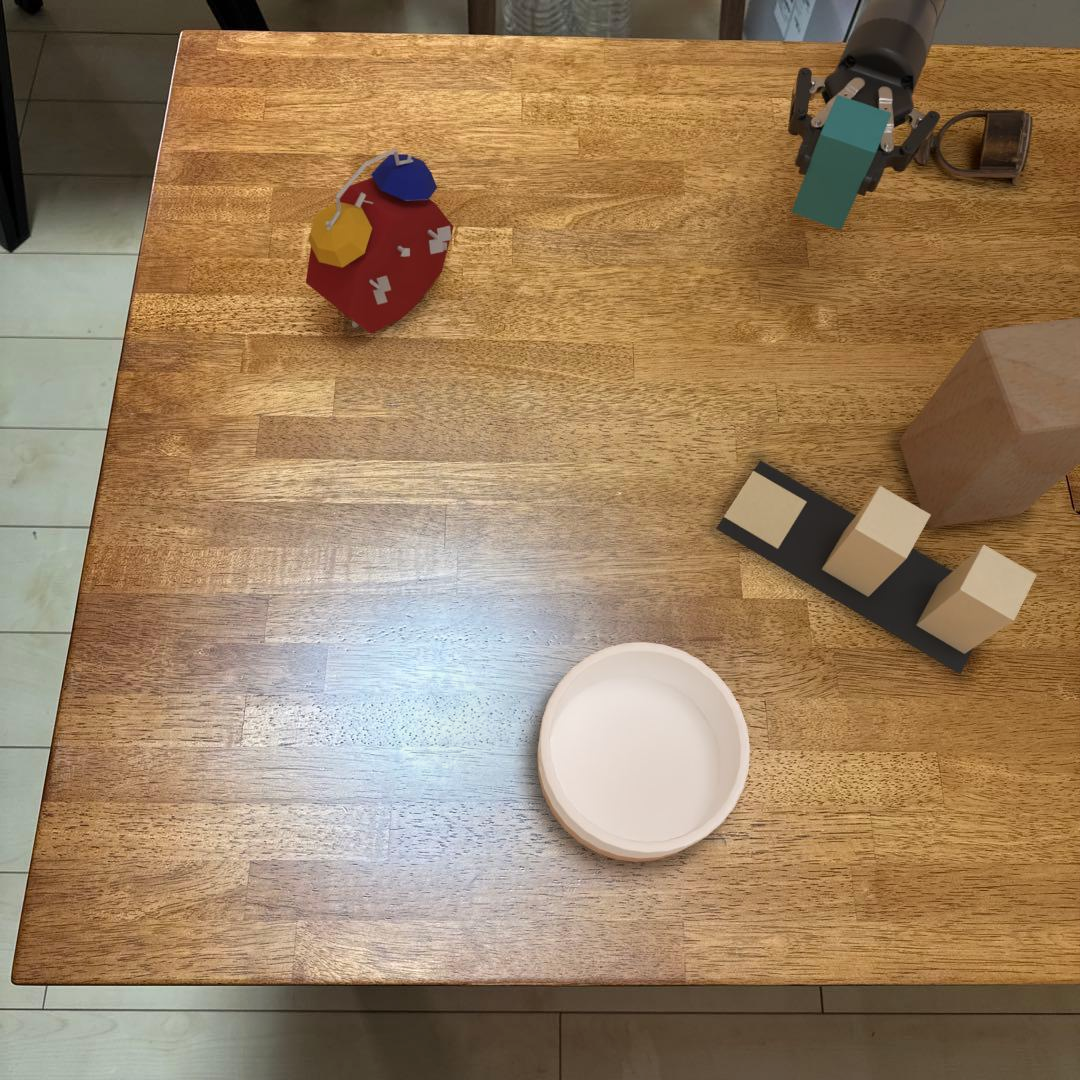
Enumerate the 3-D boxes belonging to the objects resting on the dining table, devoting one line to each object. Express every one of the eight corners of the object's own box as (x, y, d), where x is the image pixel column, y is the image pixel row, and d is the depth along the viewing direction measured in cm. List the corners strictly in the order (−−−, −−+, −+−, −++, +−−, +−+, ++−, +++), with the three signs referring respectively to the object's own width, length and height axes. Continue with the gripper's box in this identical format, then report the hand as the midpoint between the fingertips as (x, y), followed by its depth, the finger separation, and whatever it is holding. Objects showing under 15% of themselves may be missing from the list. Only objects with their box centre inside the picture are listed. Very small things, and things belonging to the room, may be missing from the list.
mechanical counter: (1023, 185, 110) (1068, 113, 111) (920, 124, 111) (966, 54, 112) (994, 216, 117) (1037, 149, 118) (898, 159, 118) (942, 93, 119)
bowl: (743, 691, 93) (764, 666, 85) (713, 884, 87) (733, 876, 79) (559, 648, 94) (564, 620, 86) (516, 836, 88) (517, 824, 80)
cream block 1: (891, 556, 98) (931, 514, 89) (868, 597, 96) (906, 558, 87) (845, 529, 99) (880, 485, 90) (821, 569, 97) (854, 528, 88)
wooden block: (1021, 516, 101) (1137, 416, 82) (925, 530, 100) (1020, 432, 81) (988, 427, 104) (1092, 313, 86) (895, 440, 104) (980, 327, 85)
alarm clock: (415, 241, 111) (397, 97, 93) (473, 285, 109) (467, 148, 91) (317, 325, 107) (277, 192, 88) (375, 373, 105) (348, 247, 86)
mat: (997, 599, 97) (999, 597, 97) (958, 675, 94) (960, 674, 94) (759, 462, 102) (760, 459, 102) (715, 530, 99) (716, 528, 99)
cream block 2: (986, 611, 96) (1037, 574, 87) (964, 654, 95) (1014, 620, 85) (938, 583, 97) (983, 544, 88) (915, 625, 96) (959, 589, 86)
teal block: (856, 192, 98) (892, 112, 89) (840, 230, 96) (875, 153, 87) (806, 175, 99) (837, 94, 90) (790, 212, 97) (820, 133, 88)
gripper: (826, -7, 95) (767, 120, 88) (976, 42, 93) (927, 175, 87) (804, 59, 102) (749, 181, 95) (943, 106, 100) (896, 233, 94)
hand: (834, 177), depth 91 cm, fingers closed on teal block, 5 cm apart
